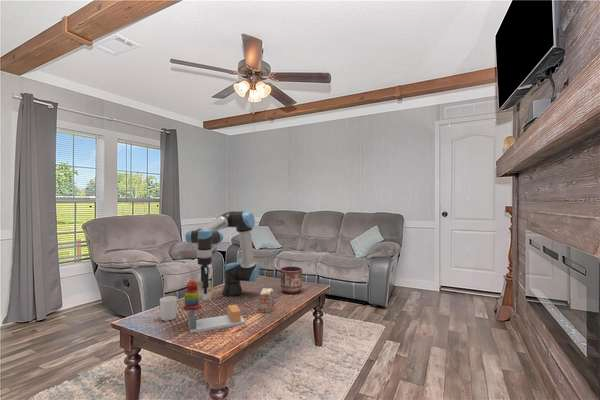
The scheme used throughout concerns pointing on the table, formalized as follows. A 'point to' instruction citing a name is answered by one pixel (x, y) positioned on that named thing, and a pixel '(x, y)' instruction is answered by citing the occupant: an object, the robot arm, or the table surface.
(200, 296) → the maple block
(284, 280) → the pottery
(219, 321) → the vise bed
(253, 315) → the table surface
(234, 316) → the block
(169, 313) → the candle holder
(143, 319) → the table surface
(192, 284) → the stacking bear
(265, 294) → the stack of blocks
